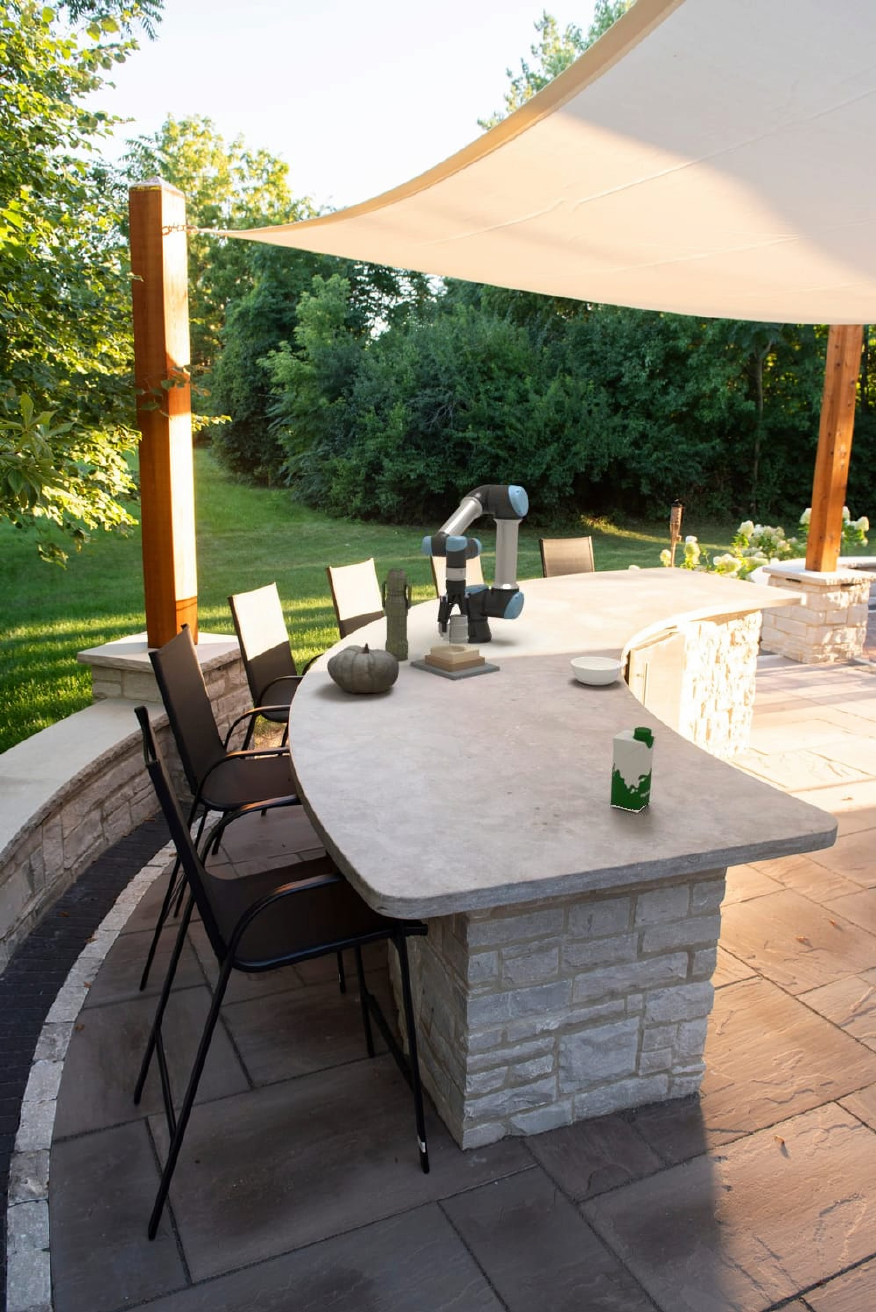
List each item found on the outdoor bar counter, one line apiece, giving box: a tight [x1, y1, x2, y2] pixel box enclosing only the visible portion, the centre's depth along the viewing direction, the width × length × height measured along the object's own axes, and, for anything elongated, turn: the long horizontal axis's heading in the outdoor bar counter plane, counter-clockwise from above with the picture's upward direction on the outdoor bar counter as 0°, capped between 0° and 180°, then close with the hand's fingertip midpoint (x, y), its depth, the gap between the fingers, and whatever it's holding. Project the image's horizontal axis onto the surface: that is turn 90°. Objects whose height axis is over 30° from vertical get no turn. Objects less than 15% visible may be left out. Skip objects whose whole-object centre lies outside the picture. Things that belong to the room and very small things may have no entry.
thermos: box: [381, 568, 413, 663], centre depth 361 cm, size 9×12×35 cm
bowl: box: [570, 656, 623, 686], centre depth 335 cm, size 18×18×7 cm
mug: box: [437, 613, 469, 645], centre depth 348 cm, size 8×12×12 cm, turn 71°
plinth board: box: [409, 643, 501, 681], centre depth 352 cm, size 26×22×8 cm
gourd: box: [326, 642, 400, 694], centre depth 323 cm, size 25×25×17 cm
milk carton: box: [610, 726, 656, 810], centre depth 227 cm, size 9×9×20 cm
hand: (454, 639), depth 350 cm, fingers closed on mug, 8 cm apart
